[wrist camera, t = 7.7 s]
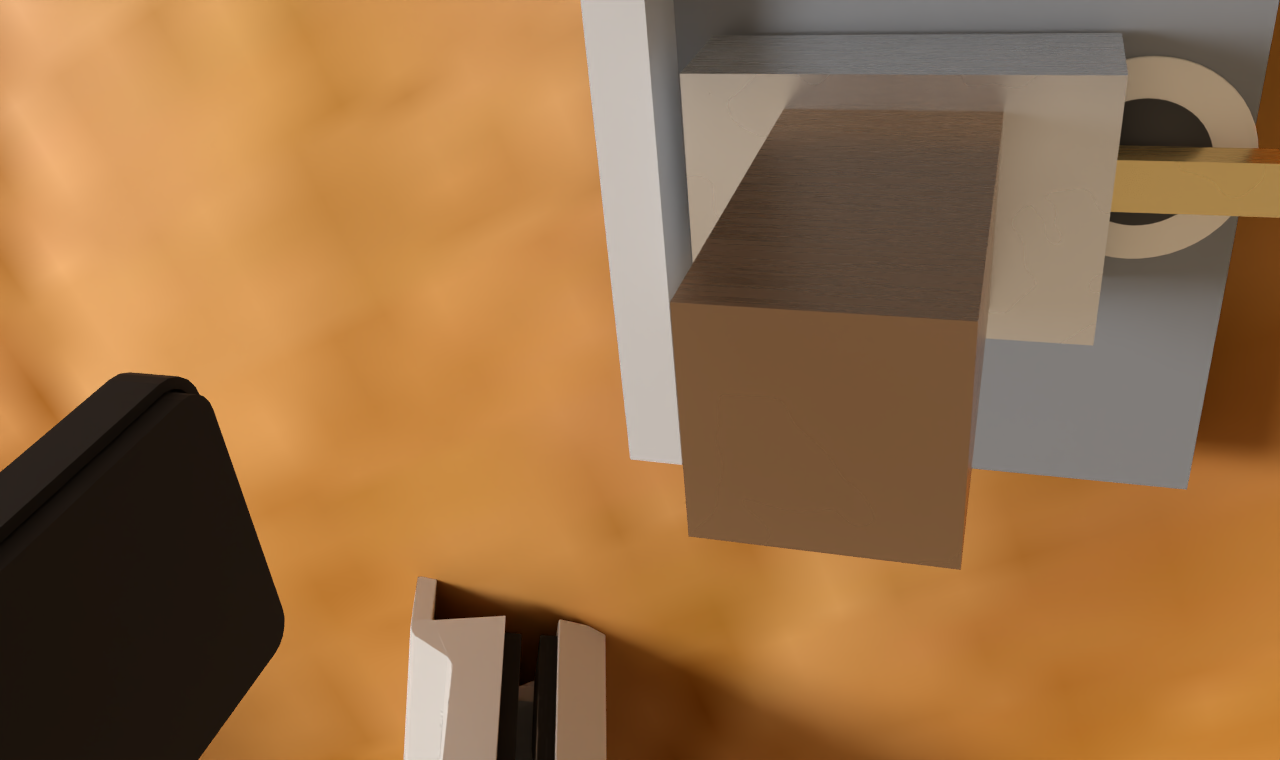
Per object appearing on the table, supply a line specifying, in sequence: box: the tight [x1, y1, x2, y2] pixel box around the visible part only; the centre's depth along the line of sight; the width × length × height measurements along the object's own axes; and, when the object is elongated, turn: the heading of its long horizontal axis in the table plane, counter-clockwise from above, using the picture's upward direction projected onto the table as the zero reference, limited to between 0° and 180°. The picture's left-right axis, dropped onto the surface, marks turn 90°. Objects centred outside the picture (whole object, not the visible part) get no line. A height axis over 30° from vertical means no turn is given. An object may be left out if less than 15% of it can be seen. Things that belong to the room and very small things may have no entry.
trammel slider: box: [670, 33, 1280, 570], centre depth 15 cm, size 4×9×8 cm, turn 95°
